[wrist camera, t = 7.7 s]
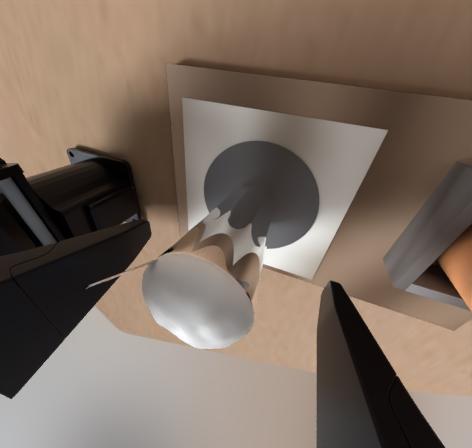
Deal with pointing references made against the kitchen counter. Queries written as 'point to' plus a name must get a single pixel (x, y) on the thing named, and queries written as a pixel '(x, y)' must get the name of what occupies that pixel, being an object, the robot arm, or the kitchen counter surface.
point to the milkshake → (212, 272)
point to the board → (333, 179)
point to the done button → (460, 265)
